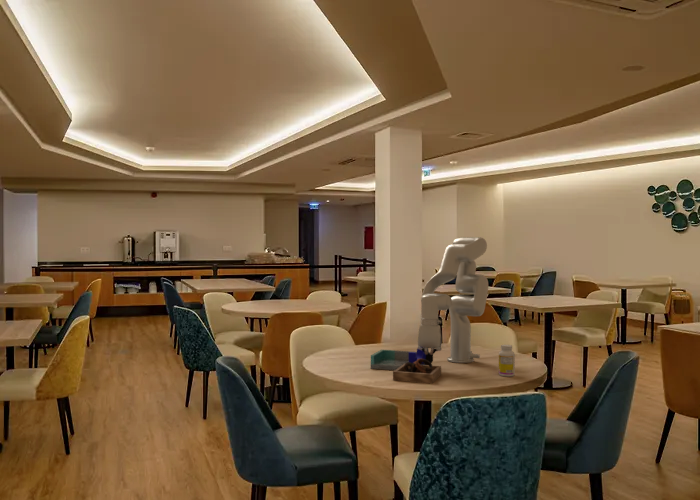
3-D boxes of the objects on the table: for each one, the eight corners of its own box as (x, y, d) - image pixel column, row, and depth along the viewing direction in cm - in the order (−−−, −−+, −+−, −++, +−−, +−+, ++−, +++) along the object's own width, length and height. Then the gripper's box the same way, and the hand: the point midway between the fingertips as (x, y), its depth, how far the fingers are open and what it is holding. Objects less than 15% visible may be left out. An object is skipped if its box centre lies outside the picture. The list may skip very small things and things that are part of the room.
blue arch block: (414, 361, 283) (415, 348, 283) (424, 362, 281) (424, 349, 281) (405, 365, 272) (405, 352, 272) (414, 366, 270) (414, 353, 270)
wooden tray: (441, 374, 263) (441, 366, 263) (432, 383, 246) (432, 374, 246) (404, 371, 269) (404, 363, 269) (393, 380, 251) (393, 371, 251)
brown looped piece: (424, 373, 267) (431, 359, 264) (429, 387, 258) (436, 372, 255) (399, 367, 264) (406, 352, 261) (403, 381, 256) (410, 366, 252)
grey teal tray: (431, 365, 283) (431, 352, 283) (423, 372, 267) (423, 358, 267) (381, 362, 291) (381, 349, 291) (370, 368, 275) (370, 355, 275)
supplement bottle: (502, 373, 266) (502, 343, 266) (517, 375, 262) (517, 345, 262) (495, 375, 261) (496, 345, 261) (510, 377, 257) (510, 347, 257)
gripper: (447, 322, 275) (447, 362, 275) (415, 320, 280) (415, 360, 280) (444, 324, 268) (444, 365, 268) (411, 322, 273) (411, 363, 273)
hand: (429, 363), depth 274 cm, fingers closed
